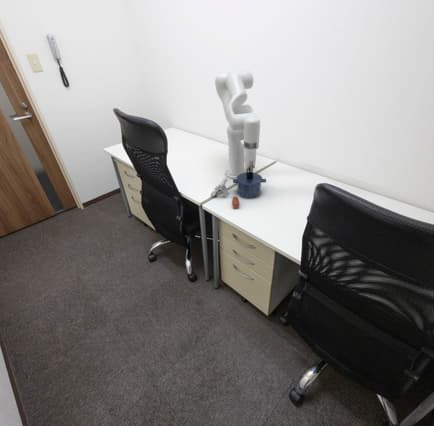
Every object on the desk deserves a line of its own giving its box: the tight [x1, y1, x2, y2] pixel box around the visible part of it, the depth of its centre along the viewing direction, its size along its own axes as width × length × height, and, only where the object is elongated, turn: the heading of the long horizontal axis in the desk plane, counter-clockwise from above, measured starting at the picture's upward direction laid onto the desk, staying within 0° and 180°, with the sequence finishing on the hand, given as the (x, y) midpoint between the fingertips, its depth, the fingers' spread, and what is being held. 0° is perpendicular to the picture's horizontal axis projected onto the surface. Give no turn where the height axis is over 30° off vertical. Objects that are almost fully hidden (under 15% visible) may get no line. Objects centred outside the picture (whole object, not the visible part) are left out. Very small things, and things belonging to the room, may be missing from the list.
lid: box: [237, 169, 263, 185], centre depth 126 cm, size 14×14×6 cm
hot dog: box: [232, 196, 240, 209], centre depth 122 cm, size 8×3×3 cm, turn 0°
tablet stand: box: [210, 177, 229, 198], centre depth 129 cm, size 9×8×8 cm
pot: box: [232, 178, 267, 199], centre depth 130 cm, size 13×18×8 cm
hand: (249, 177), depth 127 cm, fingers closed on lid, 2 cm apart
